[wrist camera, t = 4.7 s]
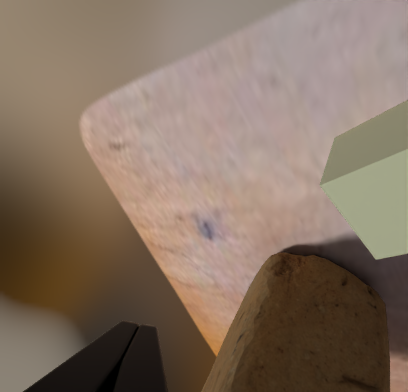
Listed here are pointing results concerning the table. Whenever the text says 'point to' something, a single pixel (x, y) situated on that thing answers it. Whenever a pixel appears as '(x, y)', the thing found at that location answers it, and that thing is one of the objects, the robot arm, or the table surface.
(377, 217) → the sage cube
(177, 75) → the table surface
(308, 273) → the brown stone
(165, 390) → the robot arm
